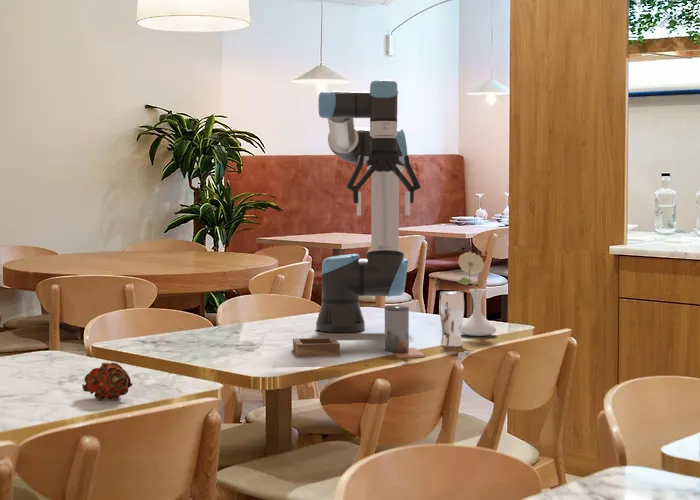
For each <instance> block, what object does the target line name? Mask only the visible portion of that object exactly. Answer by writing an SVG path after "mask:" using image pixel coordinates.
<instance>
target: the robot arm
mask: <svg viewBox="0 0 700 500" xmlns="http://www.w3.org/2000/svg"><path fill="white" fill-rule="evenodd" d="M398 95H399V90H398V82H397V81H395V80H393V79H391V80H390V79H378V80H377V79H376V80H373V81H371V82H370V84H369V91H368V90H364V91H363V90H360V91H359V90H358V91H357V90H355V91H353V90H351V91H350V90H348V91H347V90H327V91H320V93H319V94H318V116H319V117H320V118H322V119H327V123H328V130H329V133H328V135H327V143H328V146H329V149H330V150H331V152H332V153H333V154H335V156H337V157H338V158H339V159H341V160H342V161H345V162H347V163H350V164H355V165H356V166H355V168H354V170H353V172H352V174H351V176H350V178H349V180H348V182H347V184H346V185H345V188H346V189H347V190H350V191H352V202H353V204H356V216H357V217H359V216H362V191H359V190H360V189H361V187H363V186H364V184H365V183H366V182H367V181H368V179H369V178H371V216H370V217H371V221H370V222H371V225H370V226H371V228H370V229H371V231H370V232H371V233H370V234H371V235H370V236H371V238H370V239H371V240H370V241H371V242H370V243H371V244H370V245H371V247H370V249H369V250H368V251H366V253H365V255H366V258H361V257H360V254H358V253H350V254H341V255H334V256H328V257H326V258H324V259H323V261H322V263H321V271H320V274H321V306H320V310H319V312H318V316H317V318H316V325H315V327H316V328H315V329H317V330H316V331H318V330H320V331H319V332H323V331H327V332H326V333H336V332H345V333H355V332H356V333H359V332H362V331H365V330H366V323H365V320H364V316H363V313H362V309H361V306H360V297H387V298H388V297H398V296H402V295H403V294H404V292H405V288H406V281H407V273H408V266H409V259H408V258H407V257H404V256H405V254H404V251H403V250H402V249H400V243H399V241H400V240H399V239H400V237H399V235H400V232H399V231H400V230H399V229H400V228H399V227H400V223H399V222H400V219H399V218H400V217H399V216H400V214H399V211H400V210H399V209H400V206H399V205H400V201H399V200H400V197H399V196H400V191H399V190H400V189H399V187H400V182H401V184H403V186H404V187H405V188H406V190H407V191H405V195H404V197H405V198H404V202H405V204H404V206H405V207H404V208H405V209H404V212H405V213H404V215H405V216H411V204H414V202H415V201H414V200H415V199H414V198H415V194H414V193H415V191H417V190H420V189H421V184H420V182H419V181H418V180H419V179H418V178H417V176H416V174H415V171H414V170H413V167H412V165H411V164H410V157H409V155H408V145H407V139H406V134H405V131H404V130H403V129H402V128H400V127H398ZM354 119H369V127H355V121H354ZM364 165H366V170H367V171H366V172H365V173H364V174H363V175H362V177H361V178H360V179H359V180H357V179H358V176H359V174H360V172H361V170H362V168H363V166H364ZM404 169H405V171H406V173H407V175H408V177H409V179H410V181H409V180H408V179H407V178H406V176H405V175H404V174H403V173H402V172H403V171H404ZM356 180H357V183H356V184H355V182H356ZM410 182H411V183H410ZM354 184H355V185H354Z"/></svg>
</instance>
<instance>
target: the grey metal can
mask: <svg viewBox="0 0 700 500" xmlns="http://www.w3.org/2000/svg"><path fill="white" fill-rule="evenodd" d="M409 309H410V308H409V306H407V305H401V304H399V305H386V306H384V352H387V353H392V354H394V355H395V354H403V353H408V352H409V348H410V346H409V344H410V343H409V341H410V340H409V339H410V338H409V337H410V336H409V334H410V330H409V326H410V324H409V323H410V322H409V321H410V320H409V319H410V318H409V317H410V313H409V312H410V311H409Z"/></svg>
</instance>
